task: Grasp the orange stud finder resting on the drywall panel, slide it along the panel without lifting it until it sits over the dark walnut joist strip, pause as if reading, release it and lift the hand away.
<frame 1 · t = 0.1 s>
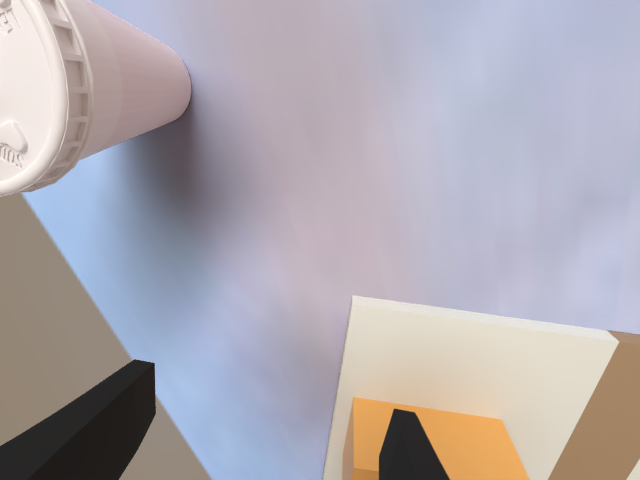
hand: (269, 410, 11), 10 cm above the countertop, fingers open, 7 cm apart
smoothie: (156, 83, 17), on the countertop
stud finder: (418, 437, 22), point 1 cm above the countertop, touching drywall panel
drywall panel: (507, 438, 23), on the countertop
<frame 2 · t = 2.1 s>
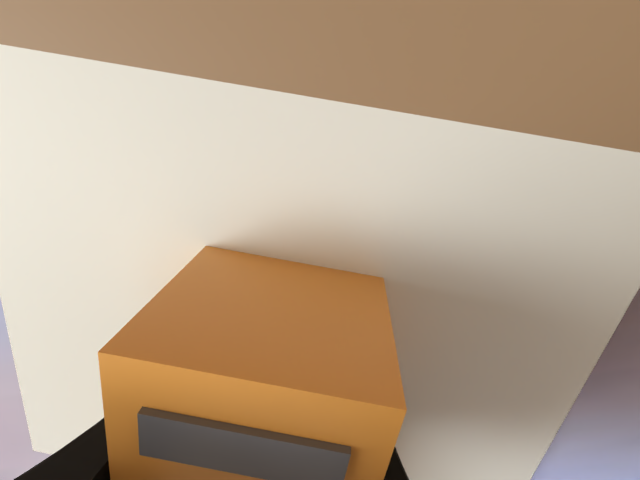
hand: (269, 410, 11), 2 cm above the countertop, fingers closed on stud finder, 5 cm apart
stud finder: (276, 385, 11), point 1 cm above the countertop, touching gripper, drywall panel
drywall panel: (306, 200, 10), on the countertop
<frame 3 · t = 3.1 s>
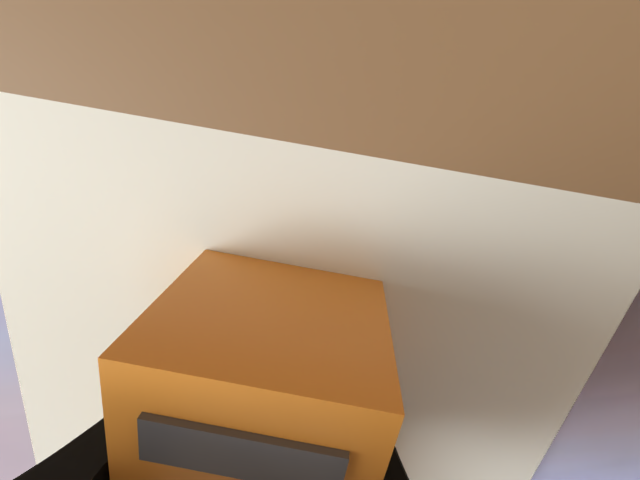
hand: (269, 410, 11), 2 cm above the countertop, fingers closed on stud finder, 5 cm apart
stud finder: (275, 388, 11), point 1 cm above the countertop, touching gripper
drywall panel: (302, 235, 11), on the countertop
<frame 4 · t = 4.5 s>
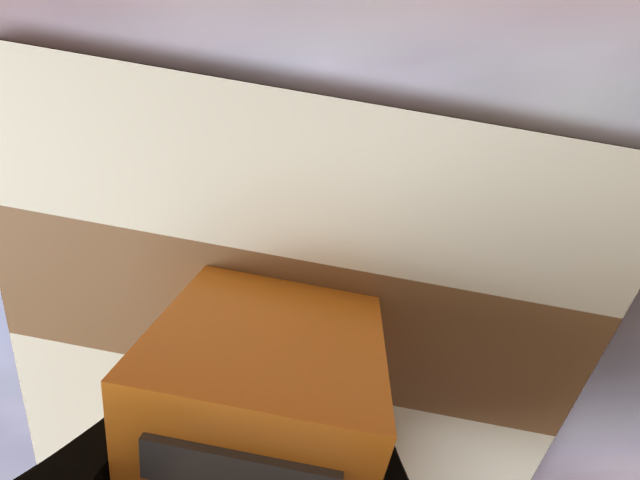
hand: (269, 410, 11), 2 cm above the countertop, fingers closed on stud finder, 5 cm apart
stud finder: (274, 399, 12), point 1 cm above the countertop, touching gripper
drywall panel: (274, 419, 13), on the countertop
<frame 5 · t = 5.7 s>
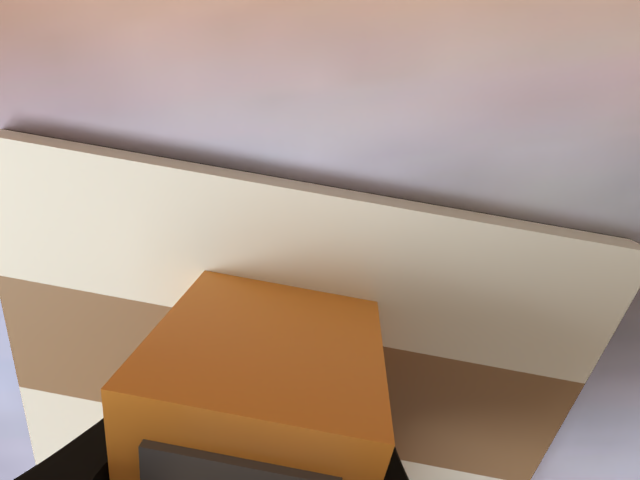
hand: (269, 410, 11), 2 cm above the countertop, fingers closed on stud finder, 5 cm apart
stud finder: (273, 403, 12), point 1 cm above the countertop, touching gripper, drywall panel
drywall panel: (267, 461, 14), on the countertop
when the fingers open (2 cm above the countertop, at t = 6.9 s): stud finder stays where it is, resting on drywall panel.
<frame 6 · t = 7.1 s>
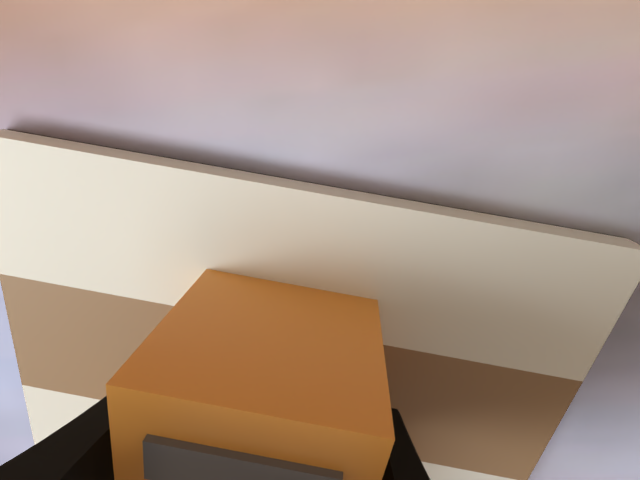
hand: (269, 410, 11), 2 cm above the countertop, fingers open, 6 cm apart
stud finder: (274, 401, 12), point 1 cm above the countertop, touching drywall panel
drywall panel: (268, 459, 14), on the countertop
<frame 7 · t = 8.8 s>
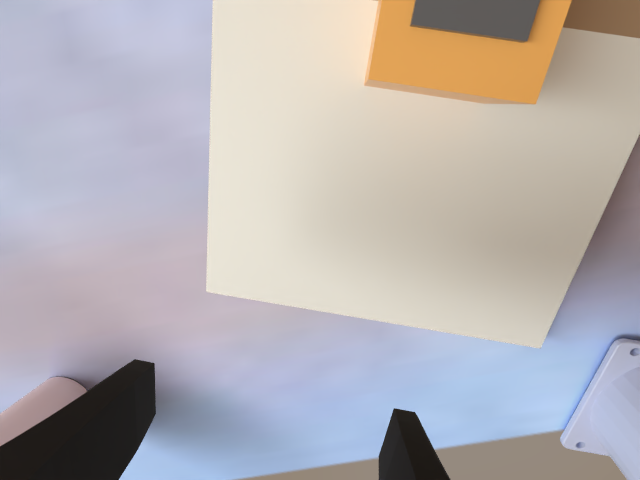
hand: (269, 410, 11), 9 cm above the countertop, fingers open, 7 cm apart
smoothie: (69, 395, 25), on the countertop
drywall panel: (420, 88, 16), on the countertop
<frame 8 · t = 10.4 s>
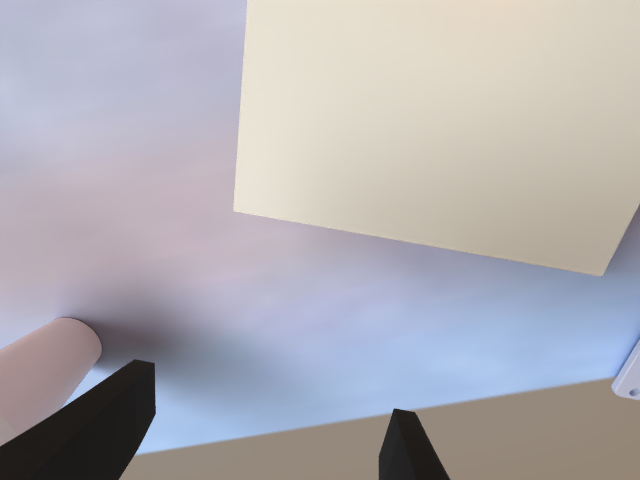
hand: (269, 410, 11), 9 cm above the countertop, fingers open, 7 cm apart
smoothie: (76, 340, 23), on the countertop
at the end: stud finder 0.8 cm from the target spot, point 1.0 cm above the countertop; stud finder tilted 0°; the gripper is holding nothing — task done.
